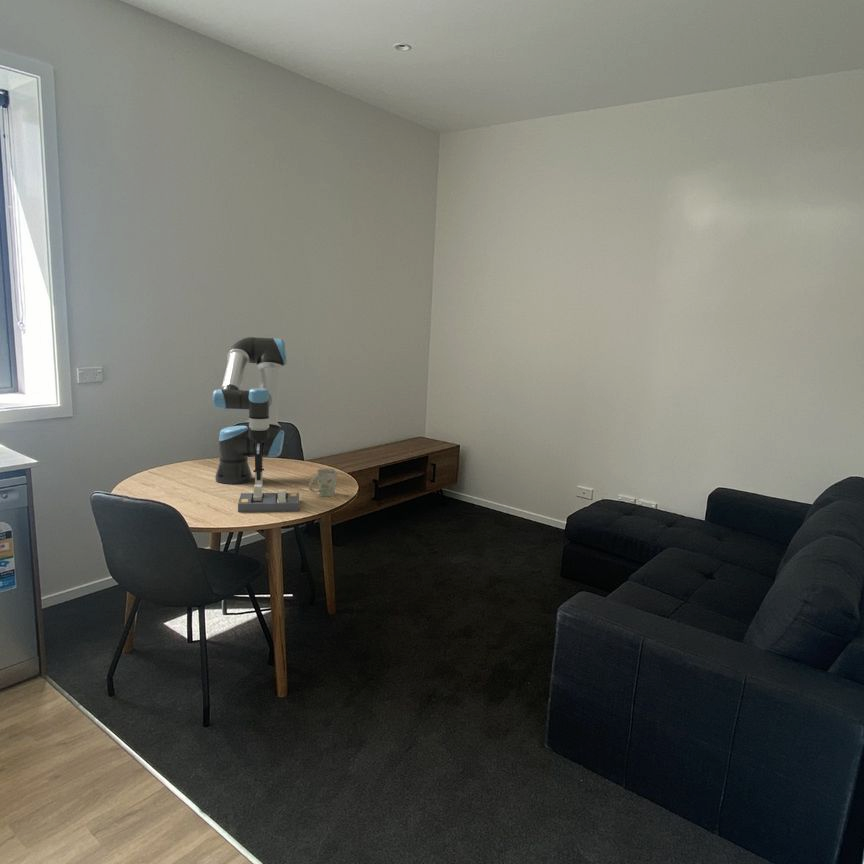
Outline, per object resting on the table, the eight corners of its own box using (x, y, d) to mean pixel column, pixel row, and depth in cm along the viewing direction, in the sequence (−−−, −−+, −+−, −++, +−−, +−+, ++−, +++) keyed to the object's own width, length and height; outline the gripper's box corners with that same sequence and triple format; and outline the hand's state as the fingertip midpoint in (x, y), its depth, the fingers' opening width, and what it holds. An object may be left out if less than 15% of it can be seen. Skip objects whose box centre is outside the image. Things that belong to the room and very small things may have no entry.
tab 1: (253, 497, 238) (253, 484, 237) (262, 497, 239) (262, 484, 238) (253, 500, 234) (253, 487, 233) (261, 500, 235) (262, 486, 234)
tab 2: (277, 502, 233) (277, 489, 232) (285, 502, 234) (286, 488, 233) (277, 506, 229) (277, 491, 228) (285, 506, 230) (286, 491, 229)
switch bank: (241, 500, 239) (241, 492, 238) (298, 499, 243) (299, 492, 243) (237, 511, 225) (237, 503, 225) (299, 510, 230) (299, 502, 229)
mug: (341, 495, 253) (341, 471, 251) (314, 500, 244) (315, 476, 242) (329, 490, 259) (330, 467, 257) (303, 495, 250) (304, 471, 248)
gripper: (250, 425, 243) (249, 483, 247) (247, 431, 230) (247, 492, 234) (269, 425, 244) (269, 483, 248) (268, 431, 232) (267, 492, 236)
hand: (258, 487), depth 241 cm, fingers closed
